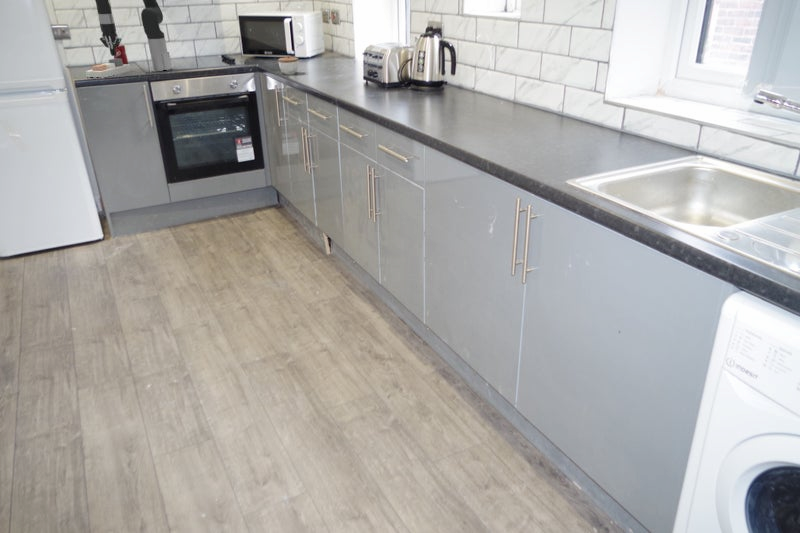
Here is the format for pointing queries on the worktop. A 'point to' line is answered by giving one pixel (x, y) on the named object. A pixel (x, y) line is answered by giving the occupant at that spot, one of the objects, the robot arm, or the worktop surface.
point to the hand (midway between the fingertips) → (113, 55)
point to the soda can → (121, 54)
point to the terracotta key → (99, 67)
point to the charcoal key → (116, 62)
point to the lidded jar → (288, 65)
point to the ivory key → (109, 65)
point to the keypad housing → (109, 71)
